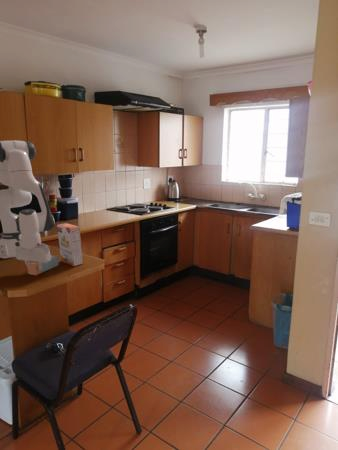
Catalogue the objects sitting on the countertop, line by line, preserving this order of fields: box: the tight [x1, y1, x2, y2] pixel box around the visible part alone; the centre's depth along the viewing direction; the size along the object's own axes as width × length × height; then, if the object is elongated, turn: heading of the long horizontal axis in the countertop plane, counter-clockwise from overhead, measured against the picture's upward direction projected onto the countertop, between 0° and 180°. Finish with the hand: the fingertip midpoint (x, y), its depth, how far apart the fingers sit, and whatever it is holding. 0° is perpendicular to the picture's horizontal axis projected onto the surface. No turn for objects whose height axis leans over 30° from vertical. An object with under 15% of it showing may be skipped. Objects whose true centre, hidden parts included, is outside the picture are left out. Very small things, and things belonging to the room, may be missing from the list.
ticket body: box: [42, 254, 60, 273], centre depth 181 cm, size 5×12×5 cm, turn 156°
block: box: [26, 261, 43, 276], centre depth 174 cm, size 5×4×5 cm
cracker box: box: [56, 222, 84, 267], centre depth 186 cm, size 14×6×21 cm, turn 45°
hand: (34, 269), depth 174 cm, fingers closed on block, 5 cm apart
